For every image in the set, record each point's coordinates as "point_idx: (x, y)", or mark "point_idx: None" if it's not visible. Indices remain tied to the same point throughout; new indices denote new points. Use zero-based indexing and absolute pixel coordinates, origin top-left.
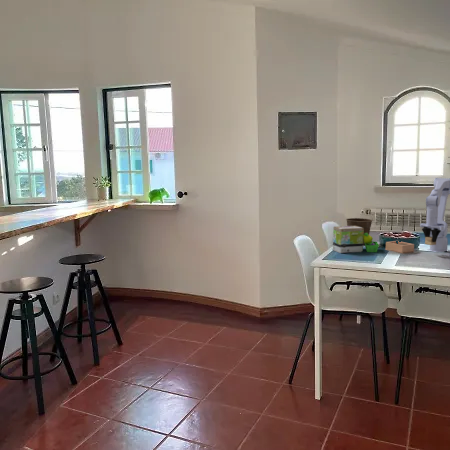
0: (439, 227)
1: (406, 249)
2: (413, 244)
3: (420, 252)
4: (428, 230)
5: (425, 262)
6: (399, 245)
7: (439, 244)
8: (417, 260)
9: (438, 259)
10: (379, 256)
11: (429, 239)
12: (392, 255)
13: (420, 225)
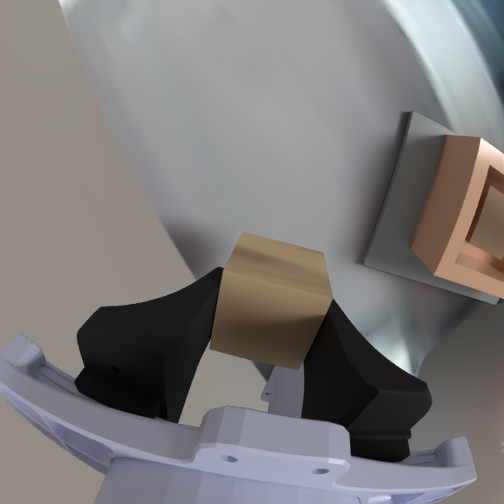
0: (11, 373)
1: (448, 179)
2: (436, 267)
3: (367, 265)
4: (317, 419)
5: (184, 16)
6: (500, 154)
7: (283, 396)
8: (255, 21)
9: (173, 163)
10: (474, 8)
11: (257, 266)
12: (460, 68)
13: (464, 455)
